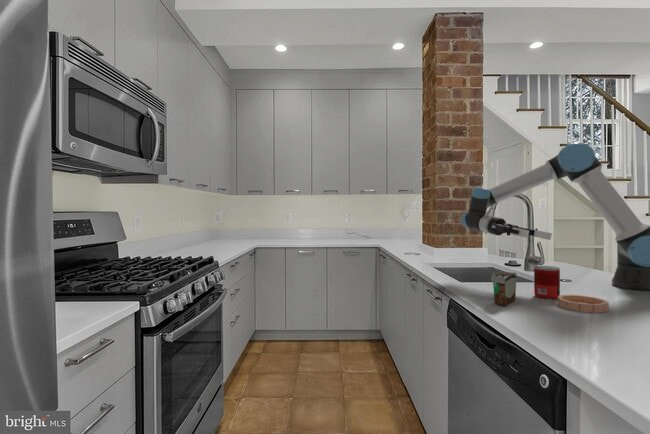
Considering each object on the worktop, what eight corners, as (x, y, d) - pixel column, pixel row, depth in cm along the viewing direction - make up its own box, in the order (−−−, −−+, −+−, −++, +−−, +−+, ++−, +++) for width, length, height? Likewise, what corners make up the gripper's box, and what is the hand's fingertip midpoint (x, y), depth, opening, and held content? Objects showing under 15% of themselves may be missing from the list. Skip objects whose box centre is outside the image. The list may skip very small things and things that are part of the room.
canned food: (563, 299, 127) (563, 269, 127) (538, 299, 129) (538, 268, 128) (554, 294, 135) (554, 265, 134) (531, 294, 136) (531, 265, 136)
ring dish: (584, 301, 125) (585, 294, 125) (619, 311, 112) (619, 304, 112) (548, 302, 124) (548, 295, 124) (578, 313, 111) (578, 305, 111)
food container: (498, 298, 131) (498, 270, 130) (516, 300, 126) (516, 272, 126) (485, 304, 122) (485, 275, 122) (504, 307, 118) (504, 277, 117)
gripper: (510, 235, 161) (557, 246, 142) (470, 231, 151) (515, 243, 132) (513, 219, 161) (561, 228, 142) (474, 214, 150) (519, 223, 131)
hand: (539, 235), depth 137 cm, fingers open, 13 cm apart
